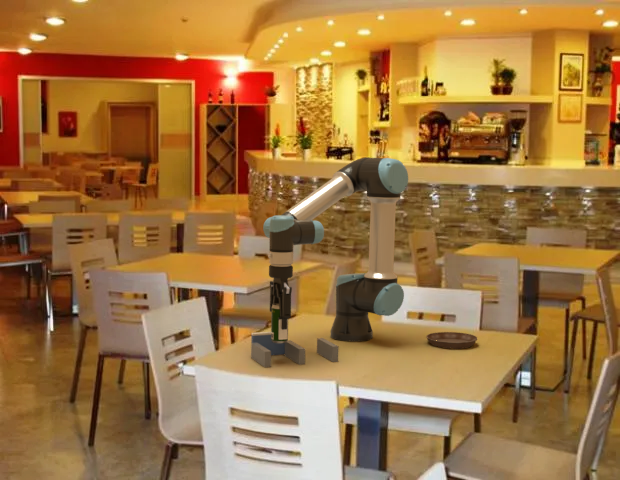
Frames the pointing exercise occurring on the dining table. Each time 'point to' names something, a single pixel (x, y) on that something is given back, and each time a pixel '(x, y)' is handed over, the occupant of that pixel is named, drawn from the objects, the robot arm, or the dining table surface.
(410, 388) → the dining table surface
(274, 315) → the beer can
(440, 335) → the plant saucer
